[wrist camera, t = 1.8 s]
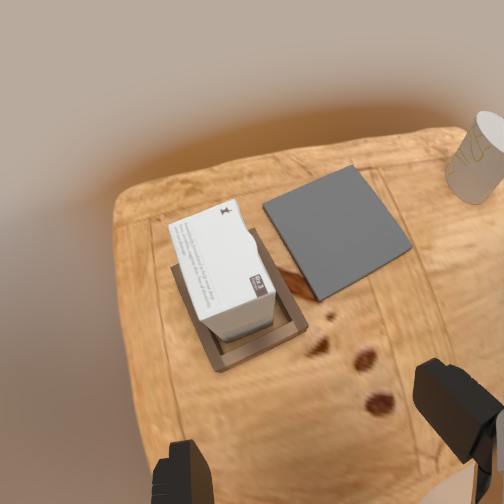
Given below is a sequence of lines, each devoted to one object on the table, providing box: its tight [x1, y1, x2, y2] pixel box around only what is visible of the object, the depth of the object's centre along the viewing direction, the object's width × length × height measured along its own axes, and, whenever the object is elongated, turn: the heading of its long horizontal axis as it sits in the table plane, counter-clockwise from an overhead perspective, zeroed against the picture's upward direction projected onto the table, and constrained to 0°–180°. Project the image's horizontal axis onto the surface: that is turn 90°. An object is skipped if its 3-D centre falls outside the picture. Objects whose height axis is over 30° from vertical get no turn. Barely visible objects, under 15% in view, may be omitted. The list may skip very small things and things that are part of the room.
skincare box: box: [168, 199, 276, 343], centre depth 29 cm, size 8×6×15 cm
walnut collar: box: [170, 228, 309, 373], centre depth 34 cm, size 10×12×4 cm
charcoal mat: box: [263, 165, 413, 303], centre depth 38 cm, size 14×14×1 cm
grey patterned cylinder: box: [446, 111, 504, 205], centre depth 34 cm, size 8×8×12 cm
